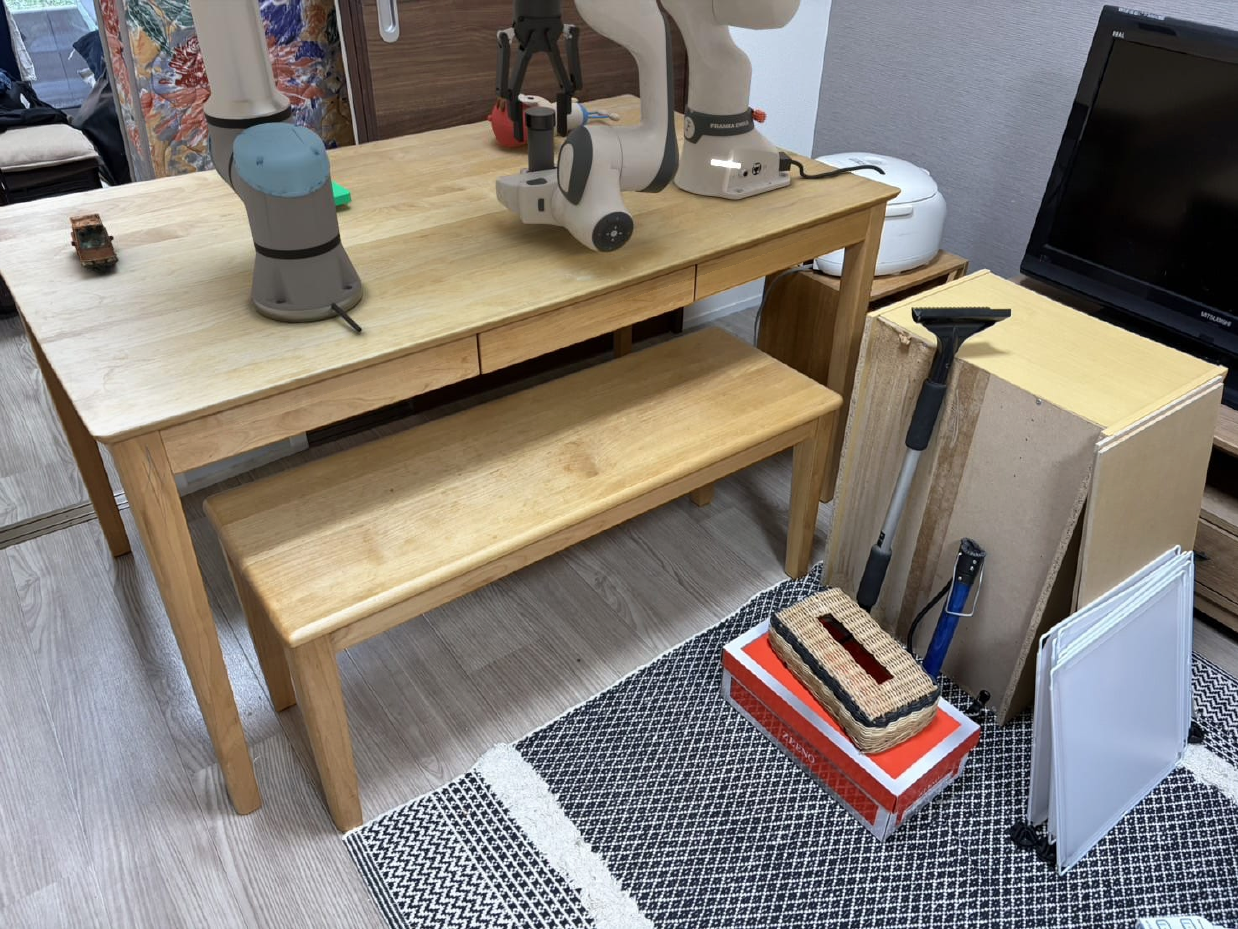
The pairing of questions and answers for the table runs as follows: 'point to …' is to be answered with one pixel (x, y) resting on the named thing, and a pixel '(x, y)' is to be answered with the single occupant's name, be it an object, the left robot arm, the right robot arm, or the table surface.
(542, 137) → the dark grey cylinder
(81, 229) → the toy car
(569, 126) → the toy
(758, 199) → the table surface
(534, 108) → the lid
